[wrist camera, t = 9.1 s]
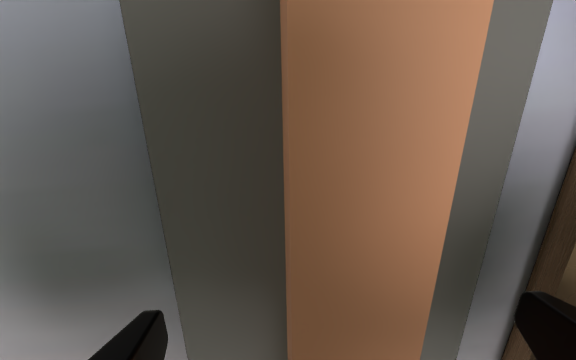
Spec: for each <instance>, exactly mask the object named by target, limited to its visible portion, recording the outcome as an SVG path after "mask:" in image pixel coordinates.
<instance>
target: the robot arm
mask: <svg viewBox="0 0 576 360" xmlns="http://www.w3.org/2000/svg"><path fill="white" fill-rule="evenodd" d="M514 321H515V324H516V326H517V328H518V330H519V331H520V333H521V335H522V336H523V338H524V340H525V341H526V343H527V345H528V346H529V348H530V350H531V351H532V353H533V355H534V356H535V358H536V360H576V306H573V305H571V304H569V303H567V302H565V301H563V300H561V299H558V298H556V297H554V296H552V295H550V294H548V293H546V292H543V291H526V292H524V293H523V294H522V295H521V297H520V300H519V303H518V305H517V308H516V311H515V314H514ZM167 343H168V334H167V329H166V325H165V320H164V315H163V313H162V311H160V310H149V311H144V312H142V313H140V314H139V315H138V316H137V317H136V318H135V319H134V320H133V321H131V322H130V323H129V324H128V325H127V326H126V327H125V328H123V329H122V330H121V331H120V332H119V333H118V334H117V335H116V336H114V337H113V338H112V339H111V340H110V341H109V342H108V343H106V344H105V345H104V346H103V347H102V348H101V349H100V350H99V351H97V352H96V353H95V354H94V355H93V356H92V357H91V358H89V359H88V360H164V357H165V353H166V349H167Z"/></svg>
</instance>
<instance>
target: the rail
mask: <svg viewBox="0 0 576 360" xmlns="http://www.w3.org/2000/svg"><path fill="white" fill-rule="evenodd" d="M493 3H494V0H280V25H281V71H282V118H283V165H284V212H285V259H286V306H287V352H288V360H420V356H421V352H422V347H423V342H424V337H425V332H426V327H427V322H428V318H429V313H430V308H431V303H432V298H433V293H434V289H435V284H436V279H437V274H438V269H439V264H440V260H441V255H442V250H443V245H444V240H445V235H446V230H447V226H448V221H449V216H450V211H451V206H452V201H453V197H454V192H455V187H456V182H457V177H458V172H459V167H460V163H461V158H462V153H463V148H464V143H465V138H466V134H467V129H468V124H469V119H470V114H471V109H472V105H473V100H474V95H475V90H476V85H477V80H478V75H479V71H480V66H481V61H482V56H483V51H484V46H485V42H486V37H487V32H488V27H489V22H490V17H491V12H492V8H493Z"/></svg>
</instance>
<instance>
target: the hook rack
mask: <svg viewBox="0 0 576 360" xmlns="http://www.w3.org/2000/svg"><path fill="white" fill-rule="evenodd" d="M526 291H543V292H546V293H548V294H550V295H552V296H554V297H556V298H558V299H561V300H563V301H565V302H567V303H569V304H571V305H573V306H576V148H575V151H574V154H573V157H572V160H571V163H570V165H569V168H568V171H567V174H566V177H565V180H564V183H563V185H562V188H561V191H560V194H559V197H558V200H557V203H556V205H555V208H554V211H553V214H552V217H551V220H550V223H549V225H548V228H547V231H546V234H545V237H544V240H543V243H542V246H541V248H540V251H539V254H538V257H537V260H536V263H535V266H534V268H533V271H532V274H531V277H530V280H529V283H528V286H527V288H526ZM526 291H525V292H526ZM502 360H536V358H535V356H534V355H533V353H532V351H531V350H530V348H529V346H528V345H527V343H526V341H525V340H524V338H523V336H522V335H521V333H520V331H519V330H518V328H517V326H516V324H515V323H514V326H513V329H512V331H511V334H510V337H509V340H508V343H507V346H506V349H505V351H504V354H503V357H502Z"/></svg>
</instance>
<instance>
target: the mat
mask: <svg viewBox="0 0 576 360" xmlns="http://www.w3.org/2000/svg"><path fill="white" fill-rule="evenodd" d="M119 1H120V6H121V12H122V17H123V22H124V27H125V33H126V38H127V43H128V48H129V54H130V59H131V64H132V69H133V74H134V80H135V85H136V90H137V95H138V101H139V106H140V111H141V116H142V122H143V127H144V132H145V137H146V142H147V148H148V153H149V158H150V163H151V169H152V174H153V179H154V184H155V190H156V195H157V200H158V205H159V211H160V216H161V221H162V226H163V231H164V237H165V242H166V247H167V252H168V258H169V263H170V268H171V273H172V279H173V284H174V289H175V294H176V299H177V305H178V310H179V315H180V320H181V326H182V331H183V336H184V341H185V347H186V352H187V357H188V360H288V352H287V306H286V259H285V212H284V165H283V118H282V71H281V25H280V0H119ZM552 3H553V0H494V3H493V8H492V12H491V17H490V22H489V27H488V32H487V37H486V42H485V46H484V51H483V56H482V61H481V66H480V71H479V75H478V80H477V85H476V90H475V95H474V100H473V105H472V109H471V114H470V119H469V124H468V129H467V134H466V138H465V143H464V148H463V153H462V158H461V163H460V167H459V172H458V177H457V182H456V187H455V192H454V197H453V201H452V206H451V211H450V216H449V221H448V226H447V230H446V235H445V240H444V245H443V250H442V255H441V260H440V264H439V269H438V274H437V279H436V284H435V289H434V293H433V298H432V303H431V308H430V313H429V318H428V322H427V327H426V332H425V337H424V342H423V347H422V352H421V356H420V360H456V358H457V354H458V350H459V346H460V343H461V339H462V335H463V332H464V328H465V324H466V321H467V317H468V313H469V309H470V306H471V302H472V298H473V295H474V291H475V287H476V284H477V280H478V276H479V273H480V269H481V265H482V261H483V258H484V254H485V250H486V247H487V243H488V239H489V236H490V232H491V228H492V224H493V221H494V217H495V213H496V210H497V206H498V202H499V199H500V195H501V191H502V188H503V184H504V180H505V176H506V173H507V169H508V165H509V162H510V158H511V154H512V151H513V147H514V143H515V139H516V136H517V132H518V128H519V125H520V121H521V117H522V114H523V110H524V106H525V102H526V99H527V95H528V91H529V88H530V84H531V80H532V77H533V73H534V69H535V66H536V62H537V58H538V54H539V51H540V47H541V43H542V40H543V36H544V32H545V29H546V25H547V21H548V17H549V14H550V10H551V6H552Z"/></svg>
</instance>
